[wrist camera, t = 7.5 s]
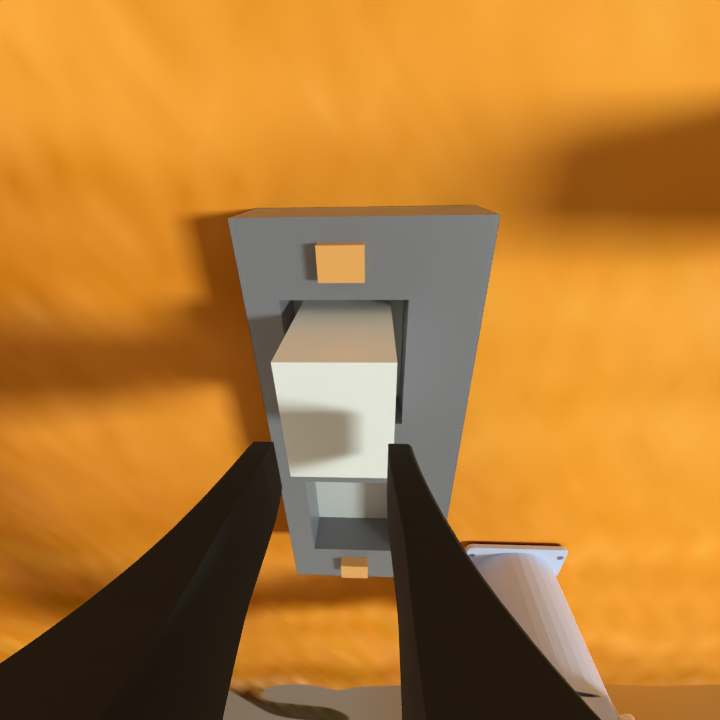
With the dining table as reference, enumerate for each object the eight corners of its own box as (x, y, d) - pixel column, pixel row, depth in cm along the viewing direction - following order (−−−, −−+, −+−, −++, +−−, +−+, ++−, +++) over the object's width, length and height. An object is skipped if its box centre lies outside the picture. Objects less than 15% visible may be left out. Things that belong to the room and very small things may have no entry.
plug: (387, 383, 19) (392, 478, 13) (316, 383, 19) (290, 476, 13) (389, 293, 16) (397, 362, 10) (307, 294, 16) (270, 362, 11)
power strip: (429, 532, 27) (437, 587, 24) (306, 529, 27) (295, 583, 24) (475, 205, 15) (505, 216, 12) (256, 208, 16) (221, 220, 12)
